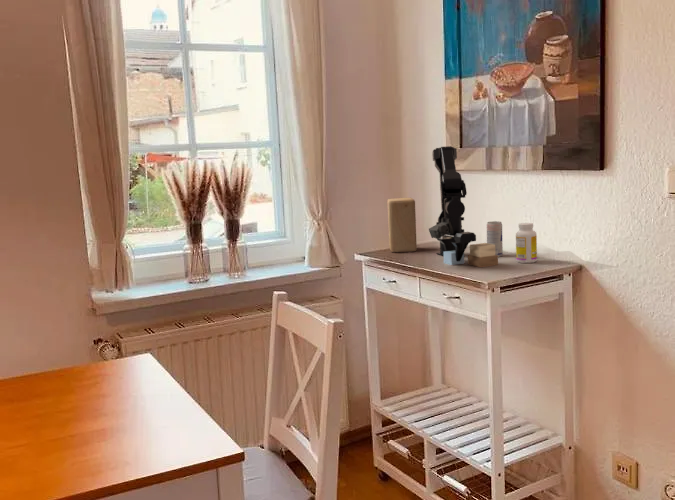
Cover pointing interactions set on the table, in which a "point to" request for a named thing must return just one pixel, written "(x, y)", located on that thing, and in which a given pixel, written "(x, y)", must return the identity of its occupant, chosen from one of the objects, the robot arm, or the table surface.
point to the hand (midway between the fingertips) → (453, 260)
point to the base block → (483, 261)
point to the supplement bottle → (526, 244)
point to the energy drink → (495, 236)
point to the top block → (452, 258)
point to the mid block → (482, 250)
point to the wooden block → (402, 225)
